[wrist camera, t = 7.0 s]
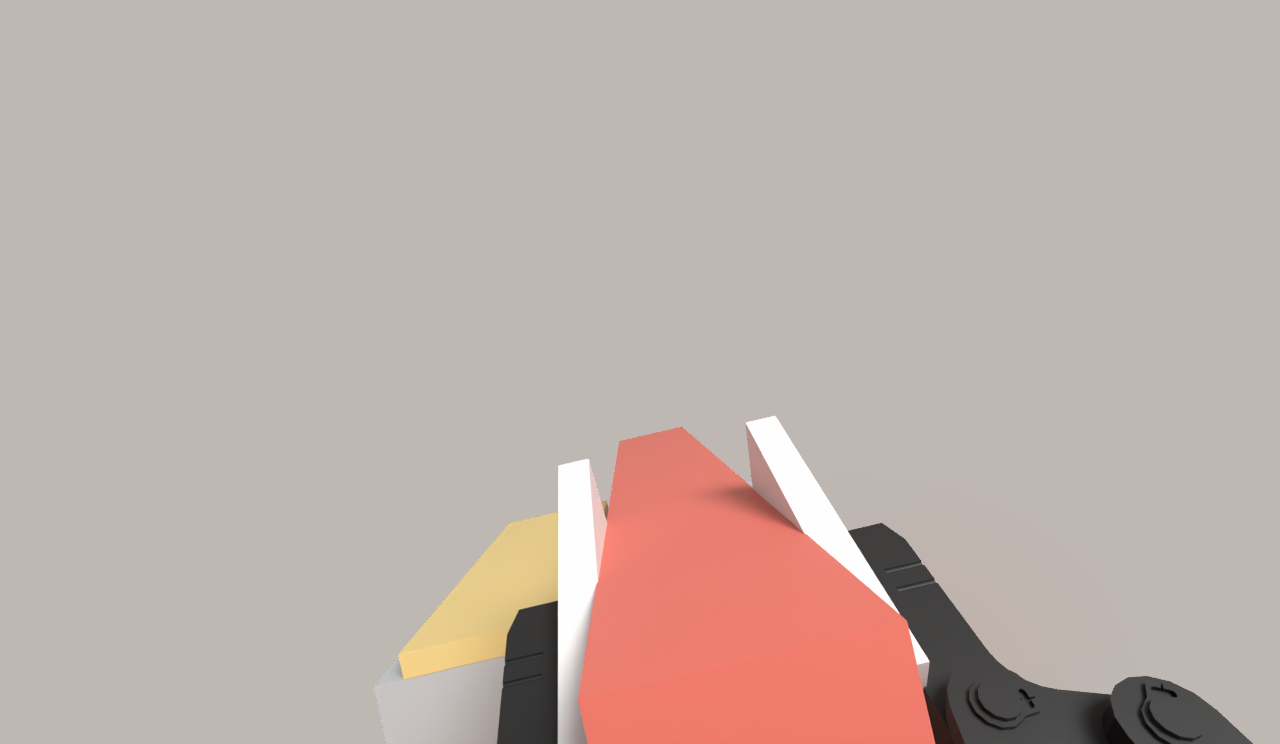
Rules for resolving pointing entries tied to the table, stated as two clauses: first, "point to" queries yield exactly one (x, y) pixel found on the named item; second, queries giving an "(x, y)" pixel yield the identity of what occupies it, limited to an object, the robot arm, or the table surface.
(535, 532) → the ochre pad
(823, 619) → the bar
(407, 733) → the breaker panel
